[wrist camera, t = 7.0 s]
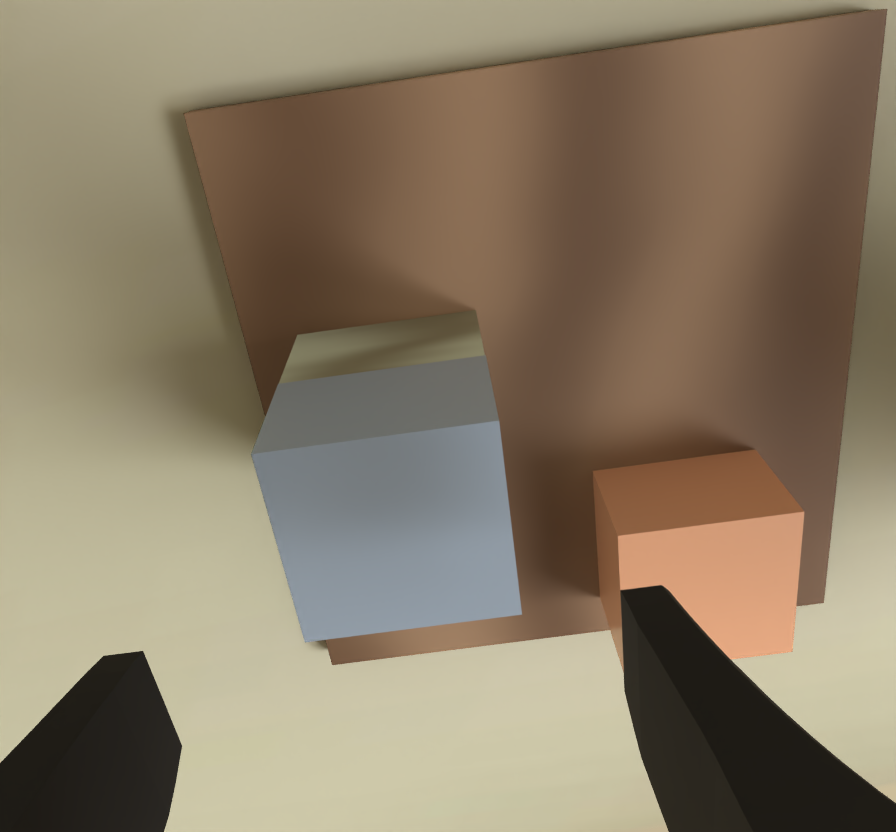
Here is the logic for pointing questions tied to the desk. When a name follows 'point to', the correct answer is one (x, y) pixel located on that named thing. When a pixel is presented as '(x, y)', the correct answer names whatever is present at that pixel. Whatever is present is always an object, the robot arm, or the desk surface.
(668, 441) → the build board
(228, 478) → the desk surface
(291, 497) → the brick slate
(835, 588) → the desk surface
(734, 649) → the brick terracotta
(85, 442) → the desk surface
